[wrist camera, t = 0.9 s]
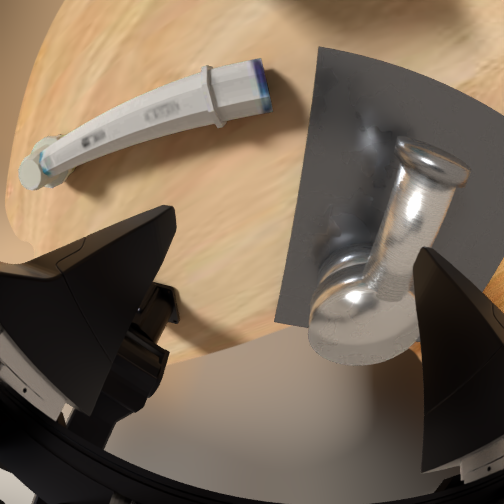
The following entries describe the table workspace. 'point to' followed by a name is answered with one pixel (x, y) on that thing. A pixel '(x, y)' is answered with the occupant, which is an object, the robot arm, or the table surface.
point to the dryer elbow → (387, 264)
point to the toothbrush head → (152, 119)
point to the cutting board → (387, 173)
